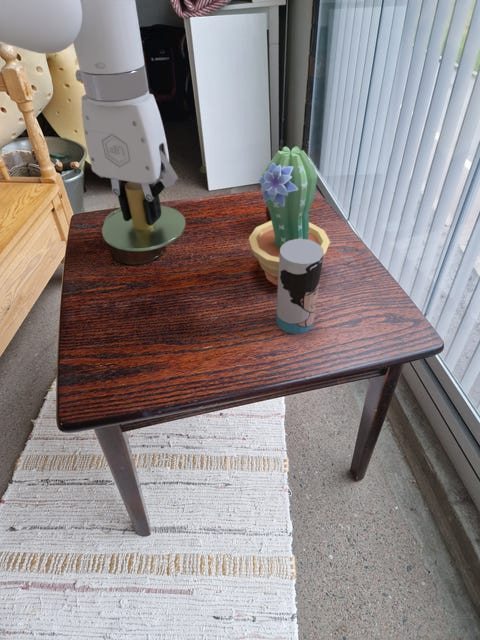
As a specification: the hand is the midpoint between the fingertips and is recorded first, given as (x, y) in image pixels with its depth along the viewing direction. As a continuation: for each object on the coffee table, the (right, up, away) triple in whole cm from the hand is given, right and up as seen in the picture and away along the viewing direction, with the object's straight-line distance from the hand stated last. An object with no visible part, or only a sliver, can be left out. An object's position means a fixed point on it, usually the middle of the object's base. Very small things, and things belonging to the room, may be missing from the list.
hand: (142, 217), depth 63 cm
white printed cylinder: (+25, -16, +12) cm, 32 cm away
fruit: (+25, +6, +35) cm, 44 cm away
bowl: (-8, 0, +29) cm, 30 cm away
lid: (0, -1, +1) cm, 2 cm away
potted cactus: (+24, -6, +22) cm, 33 cm away
